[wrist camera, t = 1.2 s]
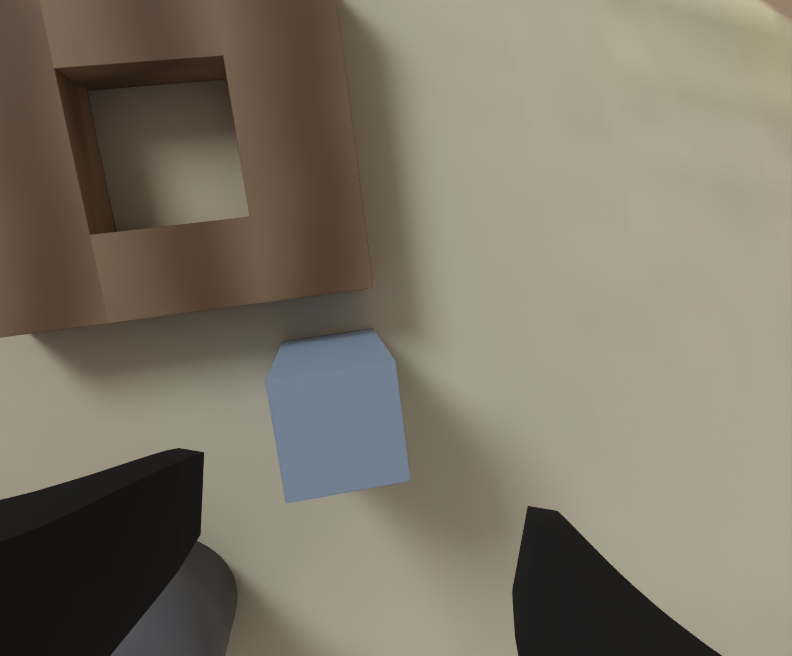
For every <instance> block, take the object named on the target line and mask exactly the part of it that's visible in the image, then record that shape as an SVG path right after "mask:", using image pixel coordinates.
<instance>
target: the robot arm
mask: <svg viewBox="0 0 792 656" xmlns="http://www.w3.org/2000/svg"><path fill="white" fill-rule="evenodd" d="M203 466H204V452H199V451H193V450H187V449H180V448H177V449H172V450H167V451H163V452H160V453H156V454H153V455H150V456H146V457H143V458H140V459H137V460H134V461H131V462H128V463H125V464H122V465H119V466H116V467H113V468H110V469H107V470H104V471H101V472H98V473H95V474H92V475H88V476H85V477H82V478H78V479H75V480H72V481H68V482H65V483H62V484H58V485H55V486H52V487H48V488H45V489H41V490H38V491H34V492H31V493H27V494H23V495H19V496H15V497H11V498H7V499H2V500H0V656H111V654H112V653H113V652H114V651H115V649H116V648H117V647H118V646H119V645H120V643H121V642H122V641H123V640H124V638H125V637H126V636H127V635H128V633H129V632H130V631H131V630H132V629H133V627H134V626H135V625H136V624H137V622H138V621H139V620H140V619H141V618H142V616H143V615H144V614H145V613H146V611H147V610H148V609H149V608H150V606H151V605H152V604H153V603H154V602H155V600H156V599H157V598H158V597H159V595H160V594H161V593H162V591H163V590H164V589H165V588H166V586H167V585H168V584H169V583H170V581H171V580H172V579H173V578H174V576H175V575H176V574H177V572H178V571H179V569H180V567H181V566H182V564H183V563H184V561H185V559H186V558H187V556H188V555H189V553H190V551H191V550H192V548H193V546H194V544H195V543H196V541H197V539H198V538H199V536H200V533H201V511H202V488H203ZM512 594H513V612H514V627H515V639H516V645H517V650H518V656H722V655H720V654H719V653H717V652H716V651H714V650H713V649H712V648H710V647H709V646H707V645H706V644H705V643H703V642H702V641H700V640H699V639H698V638H697V637H695V636H694V635H693V634H691V633H690V632H689V631H687V630H686V629H685V628H683V627H682V626H681V625H680V624H678V623H677V622H676V621H674V620H673V619H672V618H670V617H669V616H668V615H667V614H666V613H664V612H663V611H662V610H661V609H659V608H658V607H657V606H656V605H655V604H654V603H652V602H651V601H650V600H649V599H648V598H647V597H646V596H644V595H643V594H642V593H641V592H640V591H639V590H638V589H637V588H635V587H634V586H633V585H632V584H631V583H630V582H629V581H628V580H627V579H626V578H624V577H623V576H622V575H621V574H620V573H619V572H618V571H617V570H616V569H615V568H614V567H613V566H612V565H611V564H610V563H609V562H608V561H607V560H606V559H605V558H604V557H603V556H602V555H601V554H600V553H599V552H598V551H597V550H596V549H595V548H594V547H593V546H592V545H591V544H590V543H589V542H588V541H587V540H586V539H585V538H584V537H583V536H582V535H581V534H580V533H579V532H578V531H577V530H576V529H575V528H574V527H573V526H572V525H571V524H570V523H569V522H568V521H567V520H566V519H565V518H564V517H563V516H562V515H561V514H560V513H559V512H558V511H555V510H549V509H542V508H536V507H530V506H528V508H527V513H526V519H525V524H524V530H523V535H522V541H521V546H520V552H519V557H518V562H517V568H516V573H515V579H514V584H513V590H512Z"/></svg>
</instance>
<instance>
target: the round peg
mask: <svg viewBox="0 0 792 656" xmlns="http://www.w3.org/2000/svg"><path fill="white" fill-rule="evenodd" d="M236 606H237V589H236V584H235V580H234V577H233V575H232V573H231V571H230V569H229V567H228V566H227V564H226V563H225V562H224V560H223V559H222V558H221V557H220V556H219V555H218V554H217V553H216V552H215V551H213V550H212V549H210V548H209V547H207V546H206V545H204V544H202V543H200V542H198V541H196V543H195V544H194V546H193V548H192V550H191V551H190V553H189V555H188V556H187V558H186V559H185V561H184V563H183V564H182V566H181V567H180V569H179V571H178V572H177V574H176V575H175V576H174V578H173V579H172V580H171V581H170V583H169V584H168V585H167V586H166V588H165V589H164V590H163V591H162V593H161V594H160V595H159V597H158V598H157V599H156V600H155V602H154V603H153V604H152V605H151V606H150V608H149V609H148V610H147V611H146V613H145V614H144V615H143V616H142V618H141V619H140V620H139V621H138V622H137V624H136V625H135V626H134V627H133V629H132V630H131V631H130V632H129V633H128V635H127V636H126V637H125V638H124V640H123V641H122V642H121V643H120V645H119V646H118V647H117V648H116V649H115V651H114V652H113V653H112V654H111V656H225V653H226V649H227V645H228V641H229V636H230V632H231V628H232V624H233V620H234V615H235V611H236Z"/></svg>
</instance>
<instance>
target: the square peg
mask: <svg viewBox="0 0 792 656" xmlns="http://www.w3.org/2000/svg"><path fill="white" fill-rule="evenodd" d="M266 387H267V393H268V399H269V405H270V411H271V417H272V423H273V429H274V435H275V441H276V447H277V453H278V459H279V465H280V471H281V477H282V483H283V489H284V495H285V500H286V503H291V502H297V501H302V500H308V499H313V498H319V497H324V496H330V495H335V494H341V493H347V492H352V491H358V490H363V489H369V488H374V487H380V486H385V485H391V484H396V483H402V482H407V481H410V473H409V465H408V457H407V449H406V441H405V433H404V425H403V417H402V409H401V401H400V393H399V385H398V377H397V369H396V361H395V360H394V358H393V357H392V355H391V354H390V352H389V351H388V349H387V348H386V346H385V345H384V344H383V342H382V341H381V339H380V338H379V336H378V335H377V333H376V332H375V330H374V329H367V330H360V331H353V332H346V333H339V334H332V335H325V336H318V337H311V338H304V339H297V340H290V341H283V342H282V343H281V346H280V348H279V350H278V353H277V355H276V357H275V360H274V362H273V365H272V367H271V369H270V372H269V374H268V376H267V379H266Z"/></svg>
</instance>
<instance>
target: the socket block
mask: <svg viewBox="0 0 792 656" xmlns="http://www.w3.org/2000/svg"><path fill="white" fill-rule="evenodd" d="M222 79H227V81H228V87H229V93H230V100H231V106H232V112H233V118H234V124H235V130H236V136H237V142H238V148H239V154H240V160H241V167H242V173H243V179H244V185H245V191H246V197H247V203H248V209H249V215H250V217H244V218H235V219H226V220H217V221H208V222H200V223H191V224H182V225H173V226H164V227H155V228H147V229H138V230H129V231H120V232H116V230H115V225H114V220H113V215H112V211H111V206H110V201H109V196H108V191H107V186H106V182H105V177H104V172H103V167H102V162H101V157H100V152H99V148H98V143H97V138H96V133H95V128H94V123H93V119H92V114H91V109H90V104H89V99H88V94H87V90H99V89H111V88H124V87H136V86H148V85H161V84H173V83H185V82H198V81H210V80H222ZM368 288H373V282H372V275H371V267H370V259H369V251H368V244H367V236H366V228H365V220H364V213H363V205H362V197H361V189H360V181H359V174H358V166H357V158H356V150H355V143H354V135H353V127H352V119H351V112H350V104H349V96H348V88H347V81H346V73H345V65H344V57H343V49H342V42H341V34H340V26H339V18H338V11H337V3H336V0H0V337H8V336H15V335H23V334H30V333H38V332H45V331H53V330H60V329H68V328H75V327H83V326H90V325H98V324H105V323H113V322H120V321H128V320H135V319H143V318H150V317H158V316H165V315H173V314H180V313H188V312H195V311H203V310H210V309H218V308H225V307H233V306H240V305H248V304H255V303H263V302H270V301H278V300H285V299H293V298H300V297H308V296H315V295H323V294H330V293H338V292H345V291H353V290H360V289H368Z"/></svg>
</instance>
